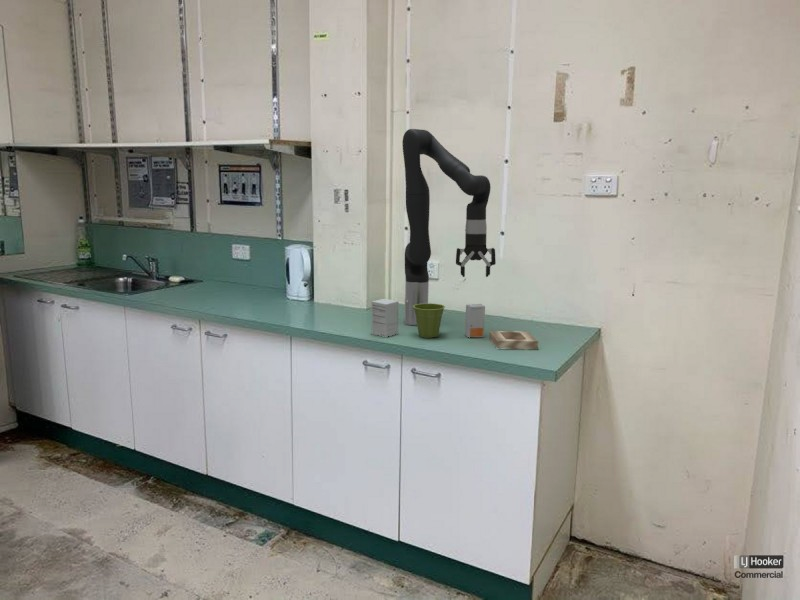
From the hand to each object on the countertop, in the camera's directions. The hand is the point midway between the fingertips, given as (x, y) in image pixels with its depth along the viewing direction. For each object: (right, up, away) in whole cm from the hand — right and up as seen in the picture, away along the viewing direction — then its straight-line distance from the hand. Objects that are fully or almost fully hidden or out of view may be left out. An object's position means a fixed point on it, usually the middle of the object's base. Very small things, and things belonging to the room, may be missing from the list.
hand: (475, 276), depth 212 cm
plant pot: (-17, -22, +3) cm, 28 cm away
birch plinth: (+12, -24, -6) cm, 28 cm away
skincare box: (0, -22, +3) cm, 23 cm away
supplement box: (-33, -22, +4) cm, 40 cm away
